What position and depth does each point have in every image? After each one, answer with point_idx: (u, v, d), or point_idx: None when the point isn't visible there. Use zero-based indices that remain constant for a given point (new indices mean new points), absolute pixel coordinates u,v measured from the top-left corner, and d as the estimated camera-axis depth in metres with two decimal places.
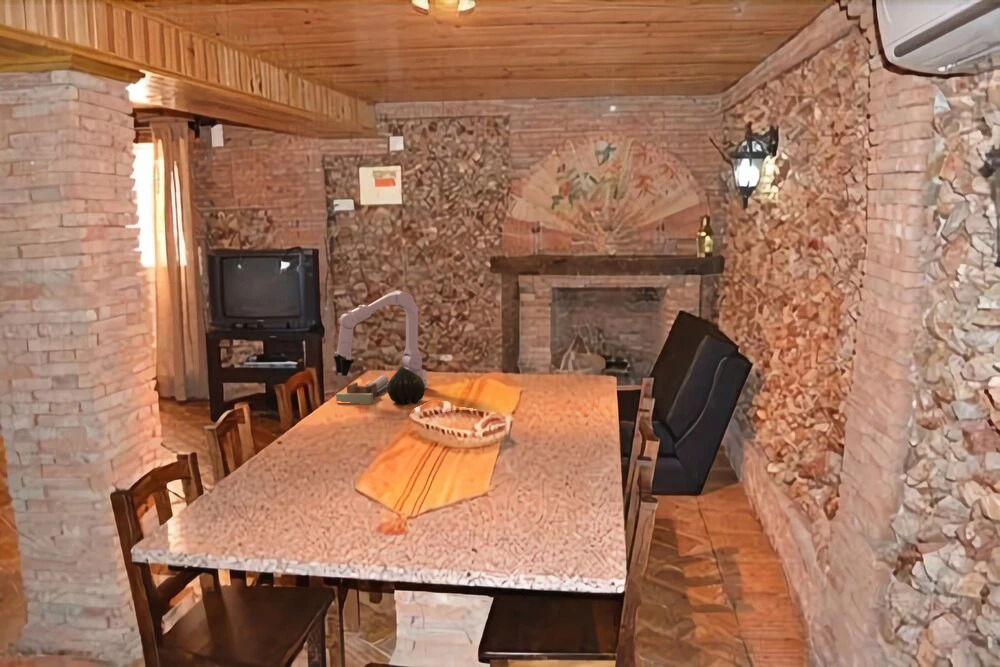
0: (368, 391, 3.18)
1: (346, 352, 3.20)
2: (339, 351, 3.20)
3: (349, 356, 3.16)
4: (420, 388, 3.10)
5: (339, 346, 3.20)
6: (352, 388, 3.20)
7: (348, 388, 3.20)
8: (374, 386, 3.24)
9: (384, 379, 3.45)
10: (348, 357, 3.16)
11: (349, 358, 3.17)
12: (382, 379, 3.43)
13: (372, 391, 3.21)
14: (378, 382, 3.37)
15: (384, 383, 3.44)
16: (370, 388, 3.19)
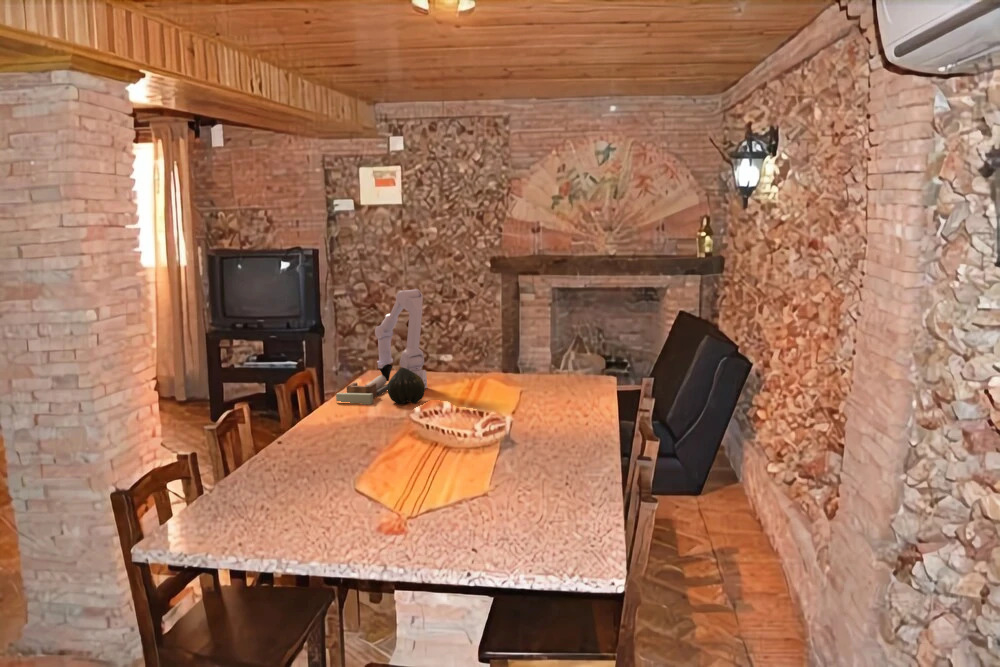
0: (368, 391, 3.18)
1: (383, 361, 3.47)
2: (379, 360, 3.49)
3: (380, 365, 3.43)
4: (420, 388, 3.10)
5: (379, 356, 3.49)
6: (352, 388, 3.19)
7: (348, 388, 3.20)
8: (374, 386, 3.23)
9: (382, 379, 3.44)
10: (379, 366, 3.43)
11: (380, 367, 3.43)
12: (380, 379, 3.42)
13: (371, 391, 3.21)
14: (376, 382, 3.35)
15: (382, 383, 3.42)
16: (370, 388, 3.19)
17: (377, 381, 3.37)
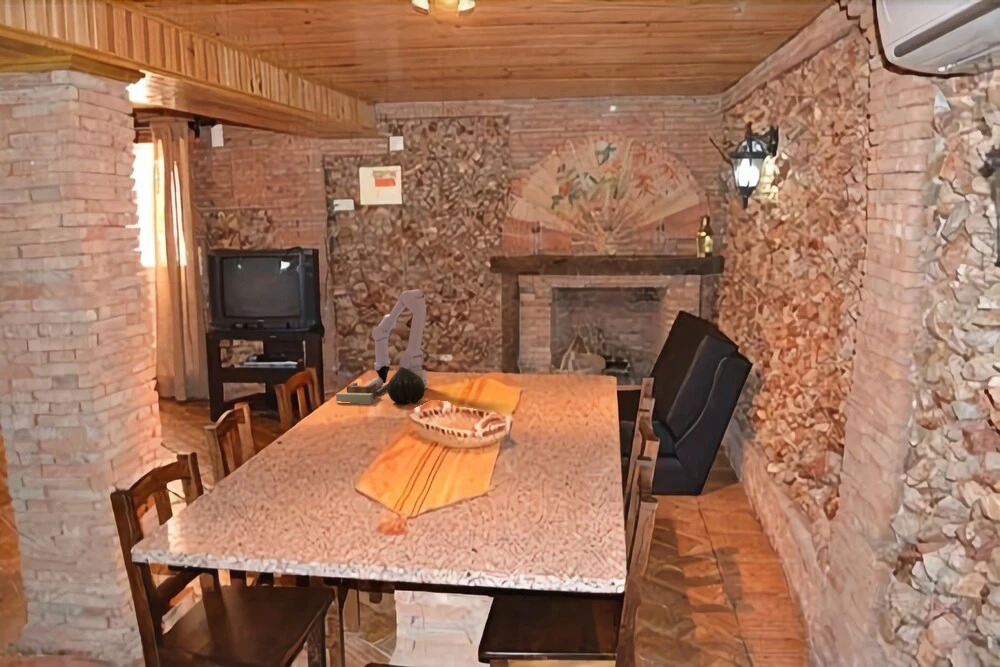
0: (368, 391, 3.18)
1: (380, 363, 3.44)
2: (376, 362, 3.46)
3: (376, 367, 3.39)
4: (420, 388, 3.10)
5: None
6: (352, 388, 3.19)
7: (348, 388, 3.20)
8: (374, 386, 3.23)
9: (378, 381, 3.40)
10: (376, 368, 3.40)
11: (377, 369, 3.40)
12: (376, 381, 3.38)
13: (371, 391, 3.21)
14: None
15: (378, 385, 3.38)
16: (370, 388, 3.19)
17: None
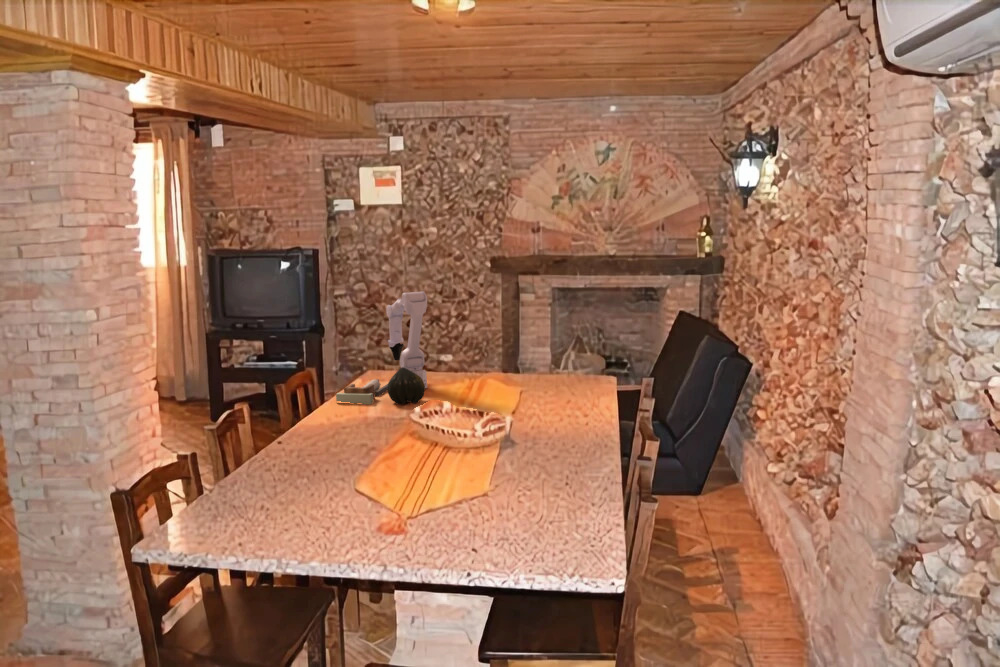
0: None
1: (394, 340, 3.50)
2: (390, 339, 3.52)
3: (391, 344, 3.45)
4: (420, 388, 3.10)
5: None
6: (349, 390, 3.17)
7: (345, 390, 3.17)
8: (371, 388, 3.21)
9: (375, 384, 3.36)
10: (390, 345, 3.46)
11: (391, 346, 3.46)
12: None
13: None
14: None
15: (375, 388, 3.34)
16: (367, 390, 3.16)
17: None
